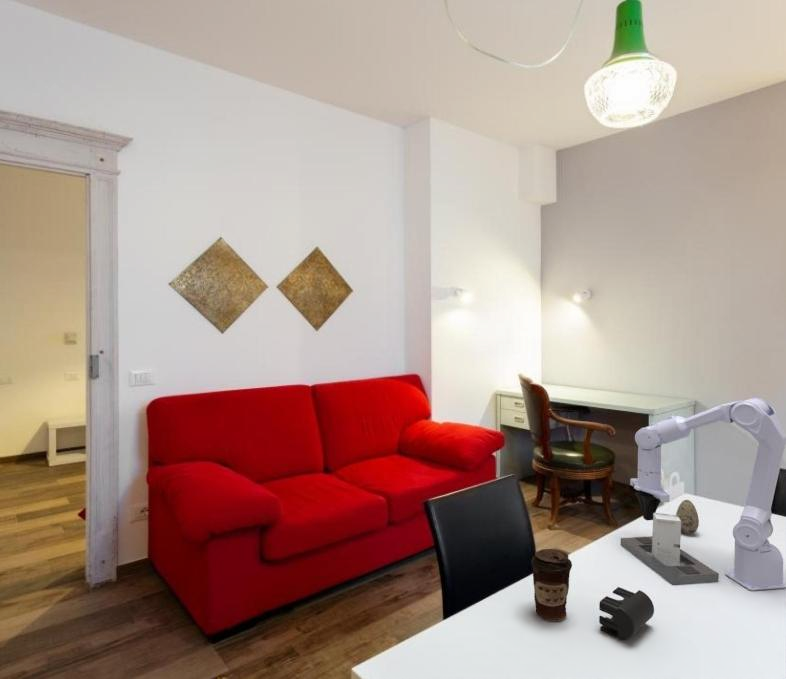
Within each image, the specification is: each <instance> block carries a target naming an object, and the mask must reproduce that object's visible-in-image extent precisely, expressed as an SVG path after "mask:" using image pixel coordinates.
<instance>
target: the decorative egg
mask: <svg viewBox="0 0 786 679" xmlns="http://www.w3.org/2000/svg"><path fill="white" fill-rule="evenodd" d="M675 515H676V516H678V517H679V519H680V520H681V533H683V534H686V535H691V534H695V533H696V531H698V529H699V526H700V523H699V522H700V520H699V515H698V512H697V509H696V506H695V505H694V504H693V502H692V501H691V500H689V499H684V500H682V501H681V503H680V504H679V505H678V507H677V510H676V514H675Z"/></svg>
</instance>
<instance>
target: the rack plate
mask: <svg viewBox="0 0 786 679" xmlns="http://www.w3.org/2000/svg"><path fill="white" fill-rule="evenodd" d="M620 546H621V547H622V548H624V549H625V550H626V551H628V552H629V553H630V554H631V555H633V556H634V557H635V558H636V559H637V560H639V561H640V562H642V563H644V564H645V566H647V567H648V568H649V569H651V570H652V571H654V572H655V574H657V575H658V576H661V577H662V578H663V579H664V580H665V581H666V582H668V583H669V584H670V585H672V586H678V585H679V586H680V585H695V584H705V583H708V584H709V583H719V577H720V576H719V574H720V573H718V572H717V571H716V570H713V568H711V567H709V566H708V565H706V564H705V563H703V562H702V561H700V560H699V559H697V558H696V557H693V556H692V555H691V554H689V553H687V552H686V551H684V550H683V549H681V548H680V563H682V564H683V565H682V564H681V565H680V566H667V565H664V564H663V563H661V562H660V561H659V560H657V559H656V558H655V557H653V556H652V554H650V553H652V535H651V536H636V537H620Z"/></svg>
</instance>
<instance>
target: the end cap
mask: <svg viewBox="0 0 786 679" xmlns="http://www.w3.org/2000/svg"><path fill="white" fill-rule="evenodd" d="M612 594H614V595H616V596H619V597H621V598H622V599H615V598H612V597H610V596H607V595H606V596H604V597H603V598H602V599H601V600H600V601H599V604H598V605H599V611H601V612H603V613H605V614H608V615H610V616H611V617H608V616H605V617H604V616H602V615H599V616H598V623H599V625H600V627H599V631H600V632H602V633H604V634H606V635H608V636H611V637H612V638H614V639H617V640H619V641H624V640H628V639H630V638H631V637H632V636H633V635H635V634H636V633H637V632H638V631H640V629H642V628H643V626H644V625H646V624H647V622H648V621H649V620H650V619H652V618H653V616H654V614H655V607H654V603H653V601H652V599H651V598H650V596H649V595H647V594H646V592H644V591H642V590H637V591H636V592H633V591H630V590H627V589H625V588H622V587H620V586H617V587H616V588H615V589H614V590H613V591H612Z"/></svg>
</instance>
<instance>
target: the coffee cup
mask: <svg viewBox="0 0 786 679" xmlns="http://www.w3.org/2000/svg"><path fill="white" fill-rule="evenodd" d="M569 556H570V555H569V554H568V553H567V552H564V551H562V550H559V549H553V548H545V549H544V548H543V549H540V550H538V551H536V552H534V555H533V556H532V558H531V561H530V562H531V566H532V578H533V579H532V581H533V588H534V590H533V593H534V604H535V614H536V615H537V616H538V617H539V618H541V619H543V620H546V621H549V622H560V621H563V620H565V619H567V597H568V595H569V594H568V593H569V588H570V573H571V570H572V567H573V563H572V561H571V559H569Z"/></svg>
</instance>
